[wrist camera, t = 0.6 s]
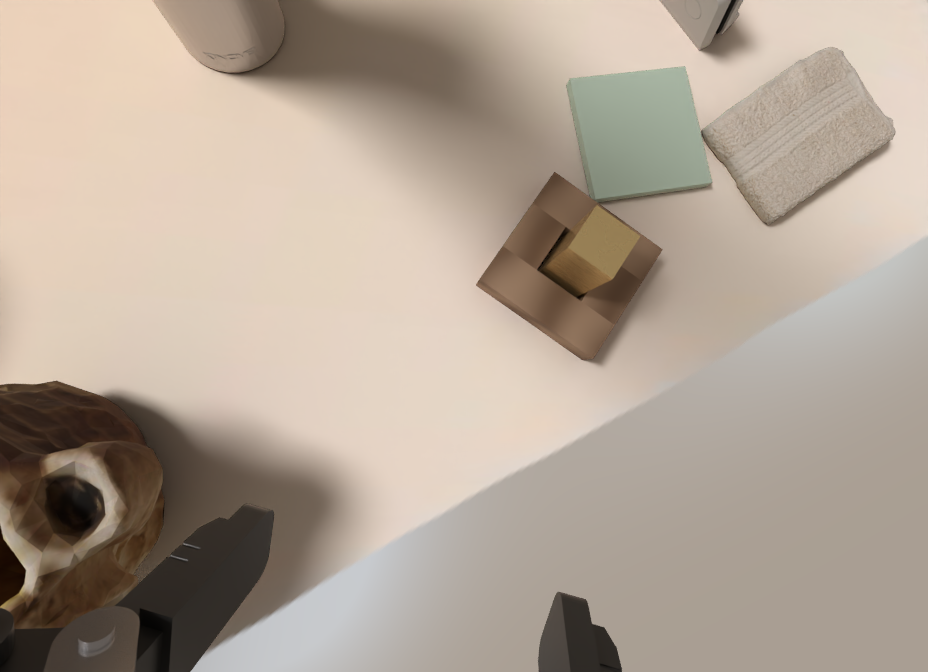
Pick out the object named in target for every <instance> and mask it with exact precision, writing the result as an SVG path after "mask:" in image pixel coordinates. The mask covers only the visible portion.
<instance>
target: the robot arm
mask: <svg viewBox="0 0 928 672" xmlns="http://www.w3.org/2000/svg"><path fill="white" fill-rule="evenodd" d="M152 1H153V2H154V3H155V5H156V6H157V8H158V9H159V11H160V12H161V14H162V15H163V16H164V18H165V19H166V21H167V22H168V24H169V25H170V26H171V28H172V29H173V31H174V32H175V33H176V35H177V36H178V38H179V39H180V40H181V42H182V43H183V45H184V46H185V48H186V49H187V50H188V52H189V53H190V54H191V55H192V56H193V57H194V58H195V59H196V60H198V61H199V62H201V63H202V64H204V65H205V66H207V67H210V68H212V69H215V70H218V71H223V72H244V71H249V70H252V69H255V68H257V67H260V66H262V65H263V64H264V63H266V62H267V61H269V60H270V59H271V58H272V57H273V56H274V55H275V54H276V53H277V51H278V49H279V47H280V46H281V44H282V41H283V37H284V32H285V22H284V17H283V13H282V10H281V8H280V5H279V2H278V0H152ZM273 520H274V512H273V511H272V510H268V509H265V508H261V507H257V506H254V505H250V504H245V505H243V506H242V507H241V508H240V509H239V510H238V511H237V512H236V513H235V514H234V515H233V516H232V517H231V518H230V519H229V520H226V519H223V518H218V519H216V520H214V521H212V522H210V523H208V524H206V525H204V526H202V527H200V528H198V529H197V530H196V531H195V532H194V533H193V534H192V535H191V536H190V537H189V538H188V539H187V540H185V541H184V543H183V545H180V546H179V547H178V548H177V549H176V550H175V551H174V552H172V553H171V555H170V557H169V558H168V557H167V558H166V559H165V560H164V561H163V562H162V563H161V564H160V565H158V566H157V567H156V568H155V569H154V570H153V571H152V572H151V573H150V574H149V575H148V576H147V577H145V578H144V579H143V580H142V581H141V582H140V583H139V584H138V585H137V586H136V587H135V588H134V589H132V590H131V591H130V592H129V593H128V594H127V595H126V596H125V597H124V598H123V599H122V600H121V601H120V602H118V603H117V604H116V605H115V606H110V607H104V608H100V609H96V610H93V611H90V612H88V613H86V614H84V615H82V616H80V617H78V618H76V619H75V620H73V621H72V622H70V623H69V624H68V625H67V626H65V627H61V628H33V629H14V618H13V615H12V614H11V613H10V612H9V611H8V610H6V609H3V608H0V672H190V671H191V670H192V669H193V667H194V666H195V665H196V663H197V662H198V661H199V659H200V658H201V657H202V655H203V654H204V653H205V651H206V650H207V649H208V647H209V646H210V645H211V643H212V642H213V641H214V639H215V638H216V637H217V635H218V634H219V633H220V631H221V630H222V629H223V627H224V626H225V624H226V623H227V622H228V620H229V619H230V618H231V616H232V615H233V614H234V612H235V611H236V610H237V608H238V607H239V606H240V604H241V603H242V602H243V600H244V599H245V598H246V596H247V595H248V594H249V592H250V591H251V590H252V588H253V587H254V586H255V584H256V583H257V581H258V580H259V578H260V577H261V575H262V573H263V571H264V569H265V566H266V564H267V561H268V557H269V550H270V542H271V535H272V528H273ZM538 658H539V659H538V665H539V672H622V668H621V664H620V660H619V656H618V652H617V648H616V646H615V645H614V643H613V642H612V640H611V638H610V636H609V635H608V633H607V631H606V630H605V628H604V627H600V626H597V625H593V624H592V622H591V617H590V612H589V607H588V603H587V601H586V599H583V598H579V597H575V596H572V595H568V594H565V593H561V592H557V594H556V595H555V598H554V601H553V604H552V607H551V610H550V613H549V616H548V619H547V621H546V624H545V627H544V630H543V633H542V637H541V641H540V647H539V657H538Z"/></svg>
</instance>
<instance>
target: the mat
mask: <svg viewBox="0 0 928 672" xmlns="http://www.w3.org/2000/svg"><path fill="white" fill-rule="evenodd" d="M566 86H567V91H568V95H569V100H570V105H571V110H572V114H573V119H574V124H575V128H576V133H577V138H578V143H579V147H580V152H581V157H582V161H583V166H584V171H585V176H586V180H587V185H588V190H589V195H590V198H592V199H593V200H594V201H596V202H597V203H598V202H605V201H612V200H618V199H625V198H632V197H639V196H646V195H653V194H660V193H667V192H674V191H681V190H688V189H695V188H702V187H706V186H708V185H709V184H711V183H712V179H711V175H710V171H709V167H708V162H707V158H706V154H705V149H704V145H703V141H702V136H701V132H700V128H699V124H698V119H697V115H696V111H695V106H694V102H693V98H692V94H691V89H690V85H689V81H688V76H687V72H686V68H685V66H684V67H674V68H665V69H656V70H646V71H637V72H627V73H618V74H609V75H599V76H590V77H581V78H571V79H570V80H569V81H568V83H567V85H566Z"/></svg>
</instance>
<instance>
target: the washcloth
mask: <svg viewBox="0 0 928 672" xmlns="http://www.w3.org/2000/svg"><path fill="white" fill-rule="evenodd" d="M701 132H702V134H703V137H704V139H705V142H706V143H707V144H708V146H709V147H710V149H711V150H712V151H713V152H714V154H716V156H717V158H718V159H719V160H720V161H721V162H723V163H724V165H725V166H726V167H727V169H728V171H729V172H730V173H731V175H732V177H733V178H734V179H735V181H736V182H737V188H738V189H739V190H740V191H741V193H742V194H743V195H744V197H745V199H746V200H747V201H748V203H749V204H750V206H751V207H752V209H754V211H755V213H756V214H757V215H758V216H759V218H760V219H761V220H762V221H763V222H766V223H767V224H768V225H769V224H771V223H772V222H773V221H775V220H776V219H778V217H780V216H784V215H785V213H787V212H788V211H790V210H791V209H793V208H794V207H795V206H796V205H798V204H799V203H800V202H803V201H804V200H805V199H807V198H809V197H810V196H811V195H813V194H814V192H816V191H817V190H818V189H820V188H821V187H824V186H825V185H826V184H827V183H828V182H831V181H833V180H835V179H836V178H837V177H838V176H840V174H842V173H844V172H845V171H846V170H848V169H850V168H852V166H854V165H855V164H856V163H857V162H859V161H861V160H863V159H864V158H865V157H867V156H868V155H869V154H871V153H873V152H874V151H875V150H877V149H879V148H881V147H882V146H883V145H884V144H886V143H888V142H889V141H890V140H892V139H893V137H894V135H895V129H894V127H893V120H892V119H891V118H889V117H887V116H885V115H884V114H883V113H882V111H881V110H880V108H879V107H878V106H877V105H876V104H875V102H874V101H873V98H872V97H871V95H870V94H869V93H868V91H867V90H866V88H865V87H864V85H863V83H862V82H861V80H860V78H859V76H858V74H857V72H856V71H855V69H854V68H853V67H852V66H851V64H850V63H849V62H848V60H847V59H846V57H845V56H844V54H843V51H841V50H838V49H837V48H834V47H828V48H825V49H822V50H820V51H817V52H816V53H814V54H813V55H811V56H810V57H808V58H805V59H804V60H800V61H798V62H796V63H795V64H794V65H792V66H791V67H789V68H788V69H786V70H785V71H783V72H782V73H781V74H779V75H778V76H776V77H775V78H774V79H772V80H771V81H769V82H767V83H766V84H764V85H762V86H761V87H760V88H758V89H757V90H756V91H755V92H753V93H752V94H751V95H749V96H748V97H746V98H745V99H744V100H742V101H740V102H739V103H737V104H735V105H734V106H733V107H731V108H730V109H728V110H727V111H726V112H724V113H723V114H722V115H721V116H720V117H719V118H717V119H716V120H715V121H714V122H712V123H710V124H709V125H708V126H707V127H705V128H704V129H703V130H701Z"/></svg>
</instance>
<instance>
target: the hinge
mask: <svg viewBox="0 0 928 672" xmlns="http://www.w3.org/2000/svg"><path fill="white" fill-rule="evenodd" d="M660 2H661V3H662V4H663V5H664V7H665V8H666V9H667V10H668V12H669V13H670V14H671V16H672V17H673V18H674V19H675V21H676V22H677V23H678V24H679V26H680V27H681V28H682V30H683V31H684V32H685V33H686V35H687V36H688V37H689V38H690V40H691V41H692V42H693V44H694V45H695V46H696V47H697V49H698V50H701V49H703V48H705V47H707V46H709V45H710V43H711V41H712V39H713V37H714V35H715V33H716V34H718V33H720V34H721V35H722V34H723V33H724V32H725V31H726V29H727V28H728V27H730V26H731V25H732V24H733V22H734V21H735V20H736V19H737V17H738V16H739V13H738V9H739V7H740V5H741V3H742V2H743V0H660Z"/></svg>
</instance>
